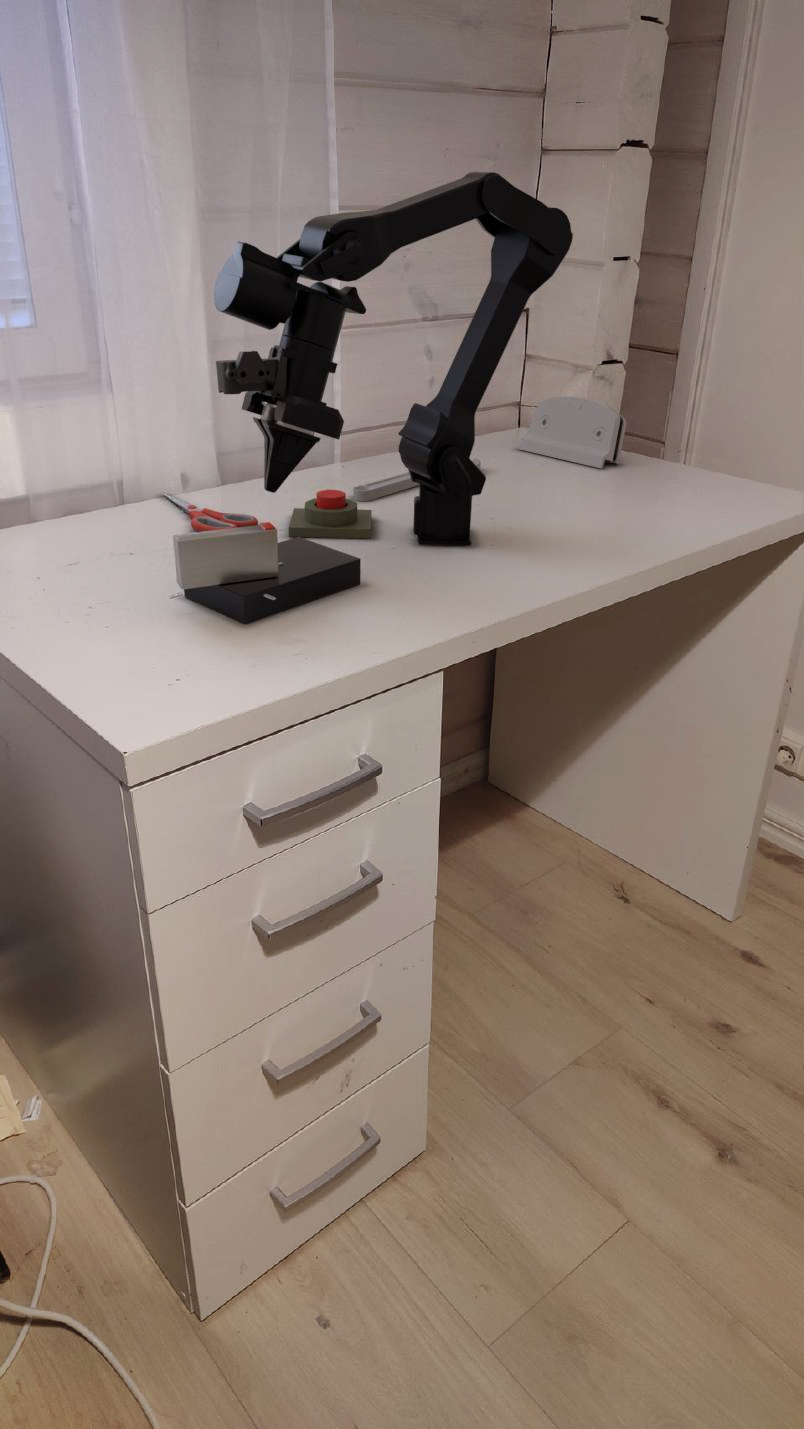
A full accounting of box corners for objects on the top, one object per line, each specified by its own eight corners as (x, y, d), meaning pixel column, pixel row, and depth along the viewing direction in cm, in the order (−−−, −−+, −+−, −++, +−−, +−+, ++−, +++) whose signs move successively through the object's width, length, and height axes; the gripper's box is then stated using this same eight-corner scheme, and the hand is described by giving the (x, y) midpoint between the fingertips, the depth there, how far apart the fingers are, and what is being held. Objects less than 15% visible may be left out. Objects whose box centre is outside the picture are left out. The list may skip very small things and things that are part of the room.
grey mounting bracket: (516, 448, 165) (534, 387, 163) (532, 454, 169) (549, 393, 167) (602, 468, 155) (622, 403, 153) (617, 474, 159) (636, 410, 157)
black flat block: (130, 606, 103) (127, 577, 101) (290, 558, 116) (290, 532, 115) (217, 649, 94) (215, 617, 93) (378, 591, 108) (378, 563, 107)
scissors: (166, 494, 138) (165, 484, 137) (269, 529, 126) (268, 518, 125) (118, 505, 133) (117, 494, 132) (220, 543, 121) (220, 531, 120)
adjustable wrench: (362, 503, 137) (362, 490, 136) (332, 493, 141) (332, 480, 140) (486, 472, 152) (487, 460, 151) (456, 464, 156) (456, 452, 155)
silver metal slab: (181, 590, 99) (177, 538, 96) (176, 583, 100) (172, 532, 98) (278, 576, 103) (277, 527, 100) (272, 570, 104) (270, 521, 102)
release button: (346, 503, 127) (346, 489, 126) (345, 512, 124) (345, 498, 123) (317, 502, 127) (317, 489, 126) (315, 511, 124) (315, 497, 123)
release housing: (371, 518, 131) (371, 496, 129) (370, 538, 124) (370, 514, 122) (294, 517, 130) (293, 494, 129) (288, 536, 123) (288, 513, 122)
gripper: (215, 319, 110) (181, 461, 113) (255, 317, 93) (214, 483, 97) (310, 352, 114) (274, 487, 118) (364, 356, 98) (320, 512, 102)
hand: (269, 491), depth 109 cm, fingers closed
